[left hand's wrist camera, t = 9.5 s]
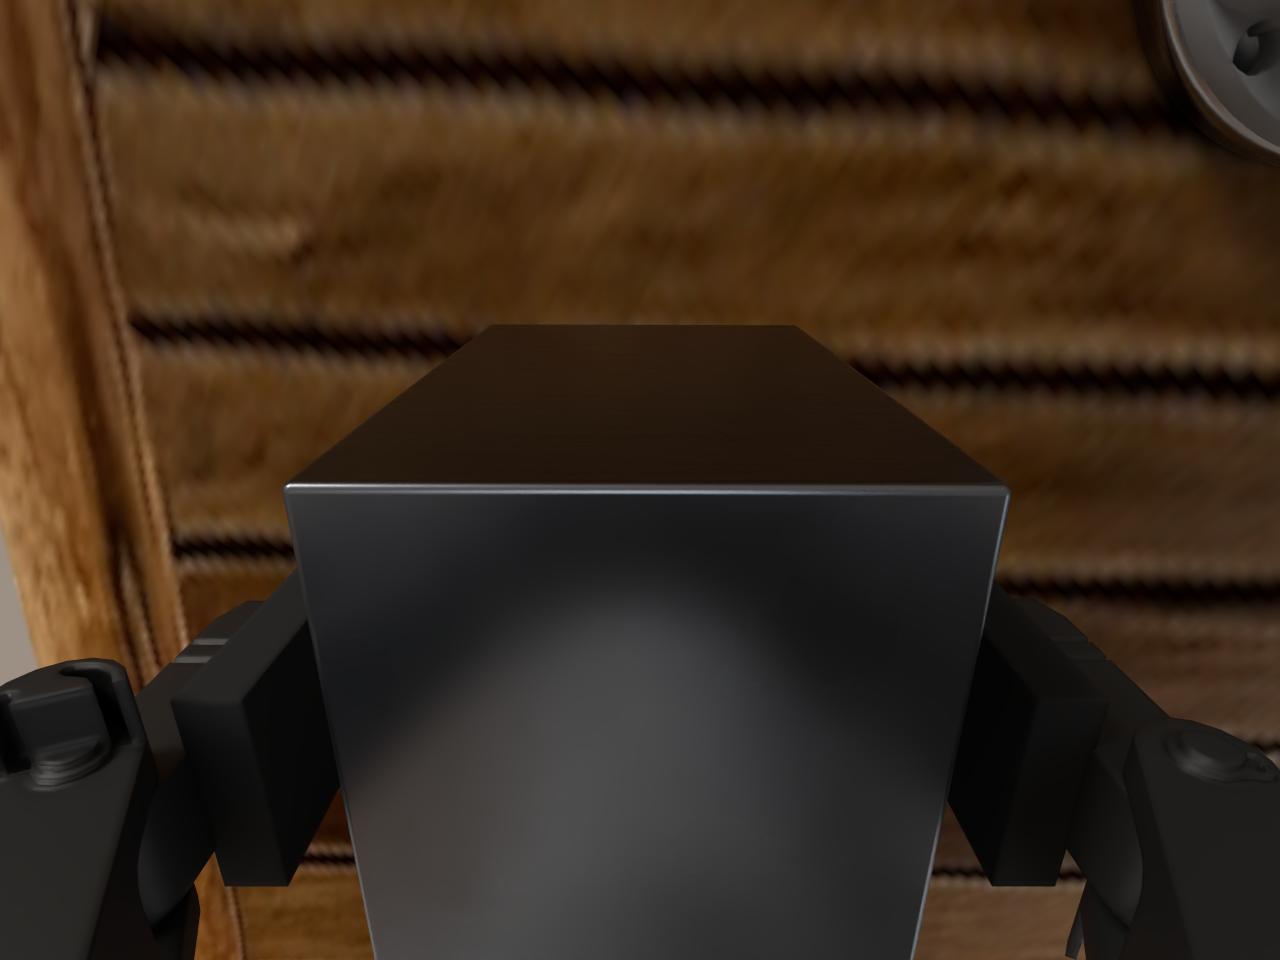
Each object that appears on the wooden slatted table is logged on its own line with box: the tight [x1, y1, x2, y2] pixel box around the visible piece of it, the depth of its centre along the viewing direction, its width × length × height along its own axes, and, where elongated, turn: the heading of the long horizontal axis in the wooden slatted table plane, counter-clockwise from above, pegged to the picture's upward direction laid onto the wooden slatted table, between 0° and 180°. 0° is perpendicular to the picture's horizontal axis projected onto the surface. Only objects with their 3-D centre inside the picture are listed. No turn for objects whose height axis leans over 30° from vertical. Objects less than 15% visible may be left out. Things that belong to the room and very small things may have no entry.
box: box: [283, 325, 1011, 960], centre depth 14 cm, size 22×6×8 cm, turn 0°
